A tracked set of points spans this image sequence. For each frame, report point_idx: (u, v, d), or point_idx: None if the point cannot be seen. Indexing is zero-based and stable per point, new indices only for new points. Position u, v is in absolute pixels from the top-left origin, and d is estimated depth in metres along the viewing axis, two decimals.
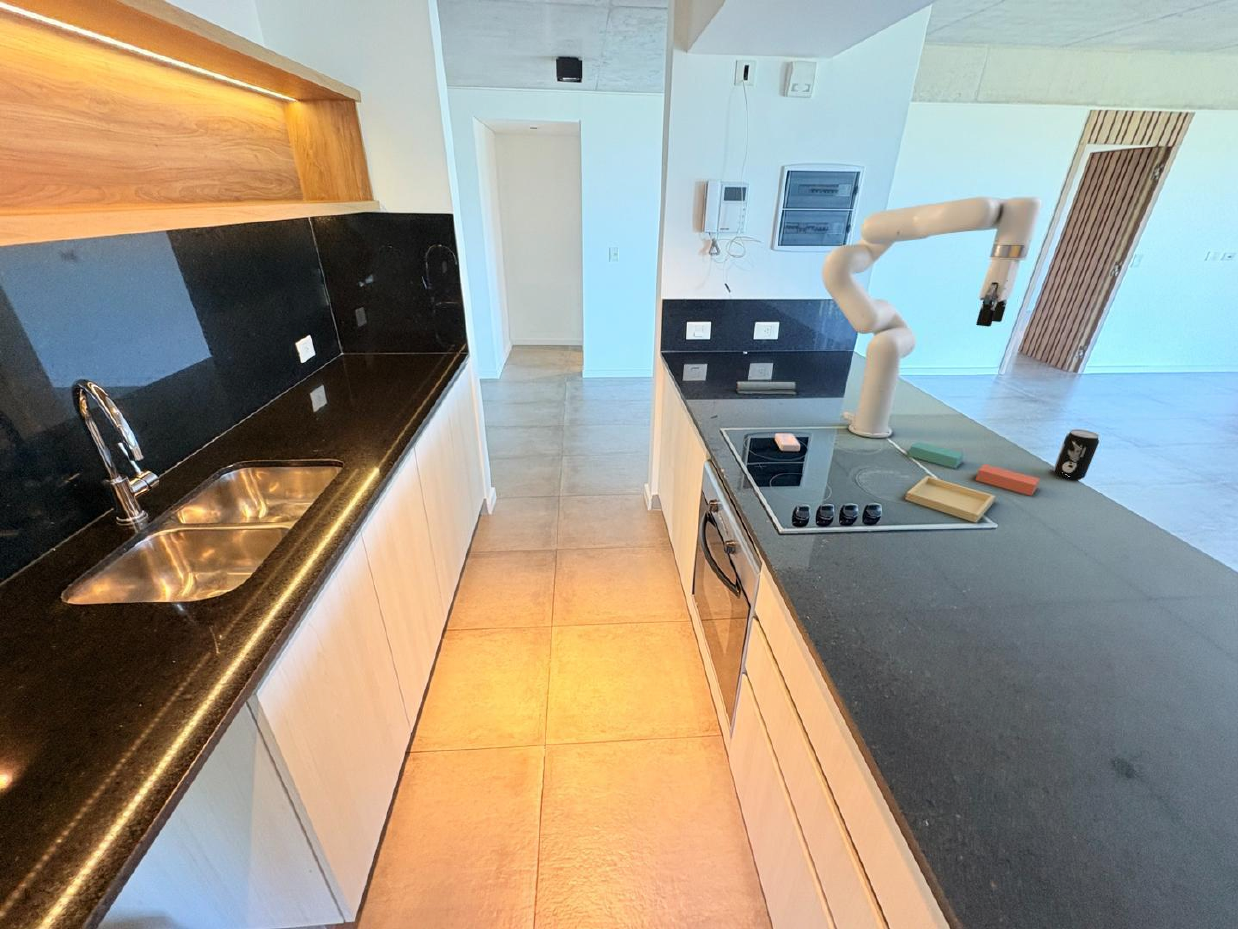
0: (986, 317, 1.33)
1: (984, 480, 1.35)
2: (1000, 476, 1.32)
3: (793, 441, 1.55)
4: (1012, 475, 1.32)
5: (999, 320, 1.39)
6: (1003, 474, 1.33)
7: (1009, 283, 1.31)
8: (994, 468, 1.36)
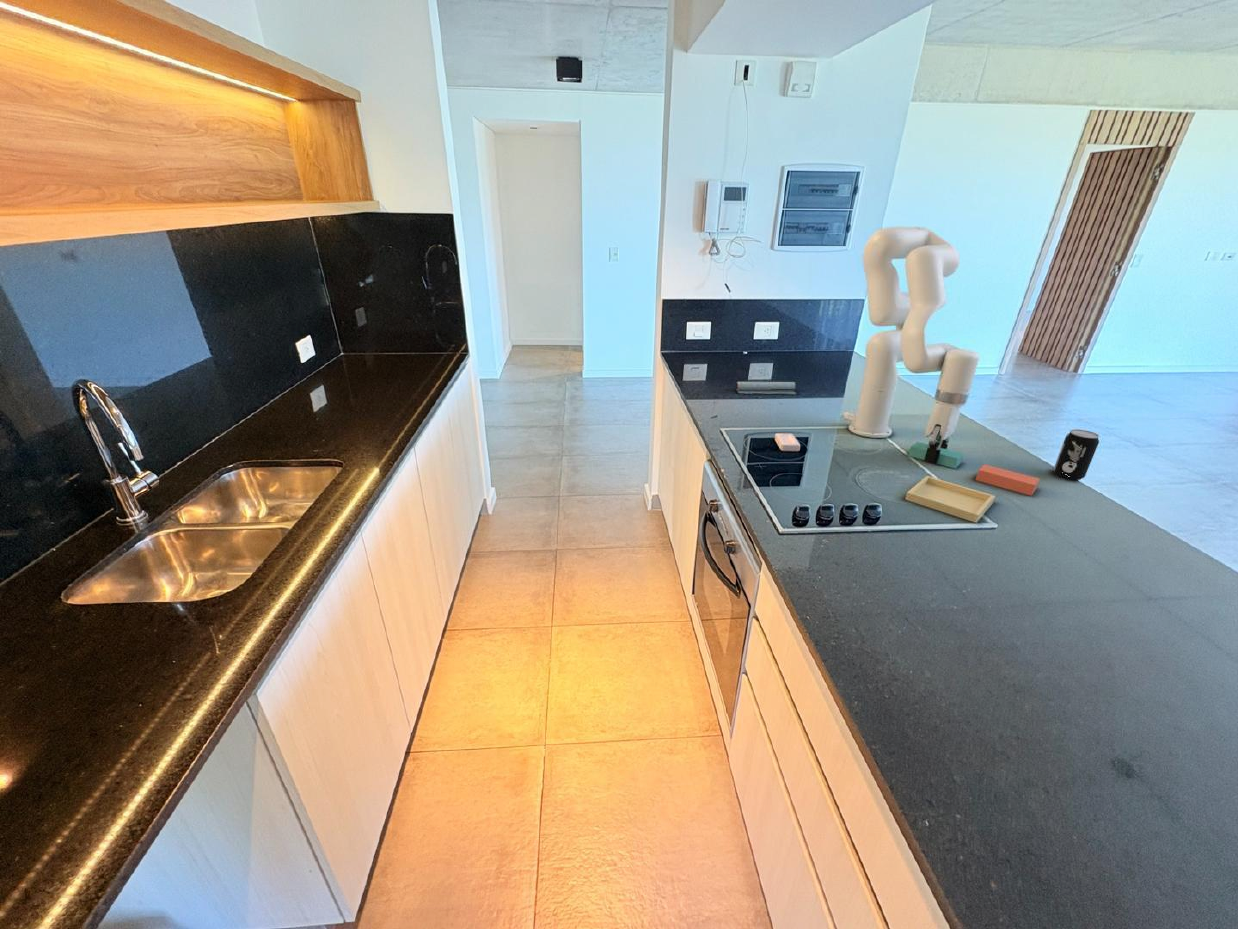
0: (932, 455, 1.45)
1: (984, 480, 1.35)
2: (1000, 476, 1.32)
3: (793, 441, 1.55)
4: (1012, 475, 1.32)
5: None
6: (1003, 474, 1.33)
7: (951, 424, 1.41)
8: (994, 468, 1.36)
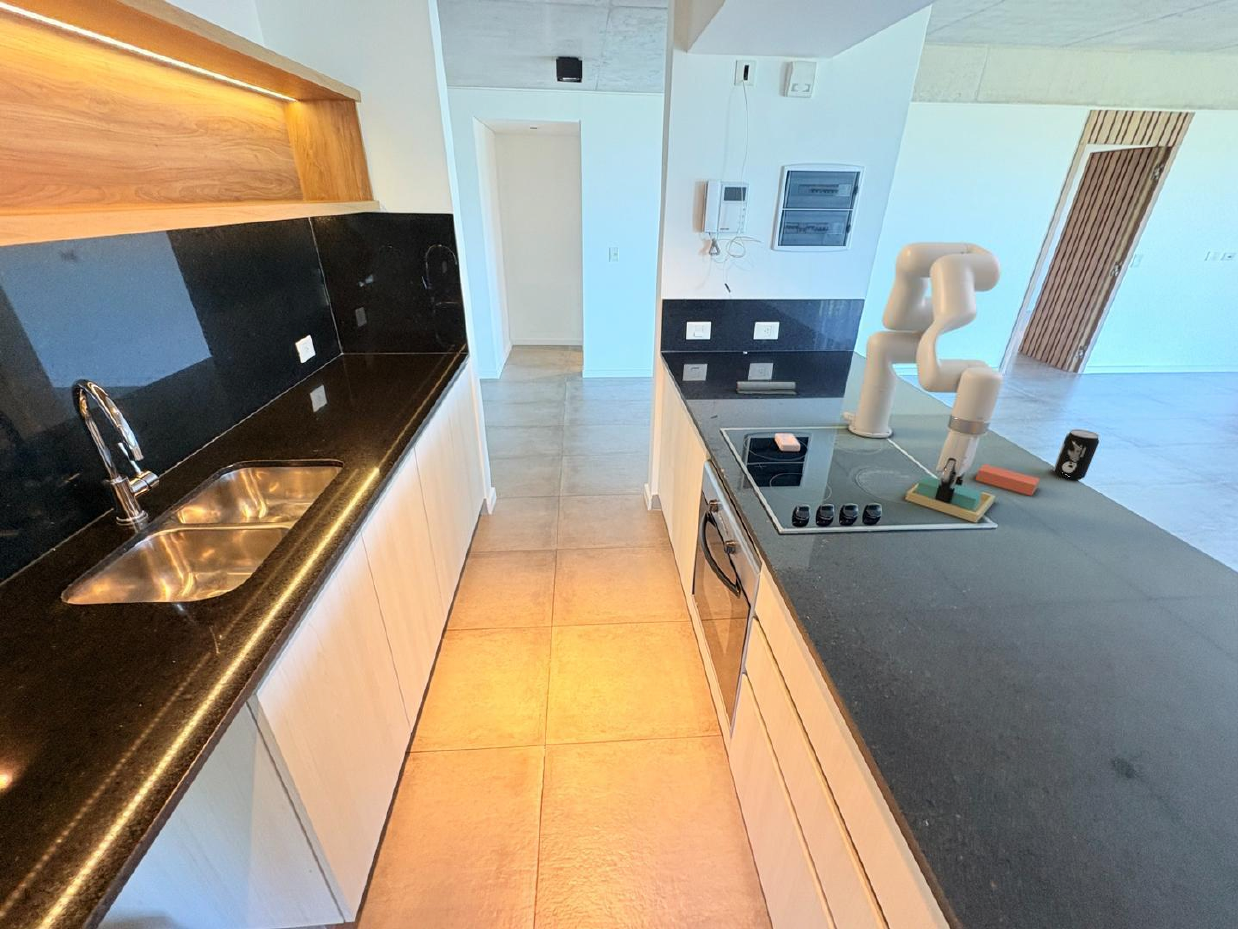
0: (945, 494, 1.20)
1: (984, 480, 1.35)
2: (1000, 476, 1.32)
3: (793, 441, 1.55)
4: (1012, 475, 1.32)
5: None
6: (1003, 474, 1.33)
7: (968, 458, 1.16)
8: (994, 468, 1.36)
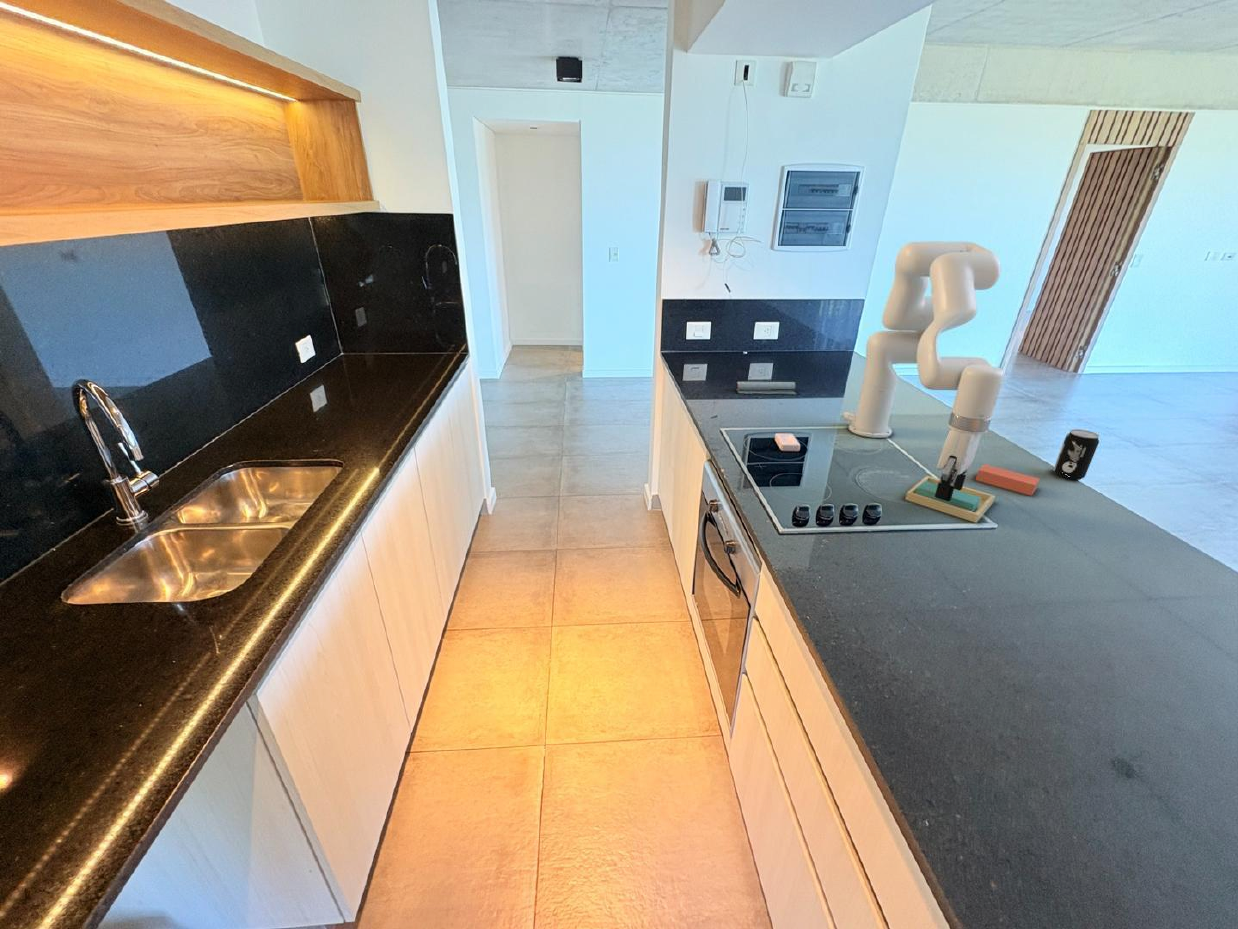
0: (945, 492, 1.19)
1: (984, 480, 1.35)
2: (1000, 476, 1.32)
3: (793, 441, 1.55)
4: (1012, 475, 1.32)
5: (959, 489, 1.25)
6: (1003, 474, 1.33)
7: (969, 456, 1.16)
8: (994, 468, 1.36)
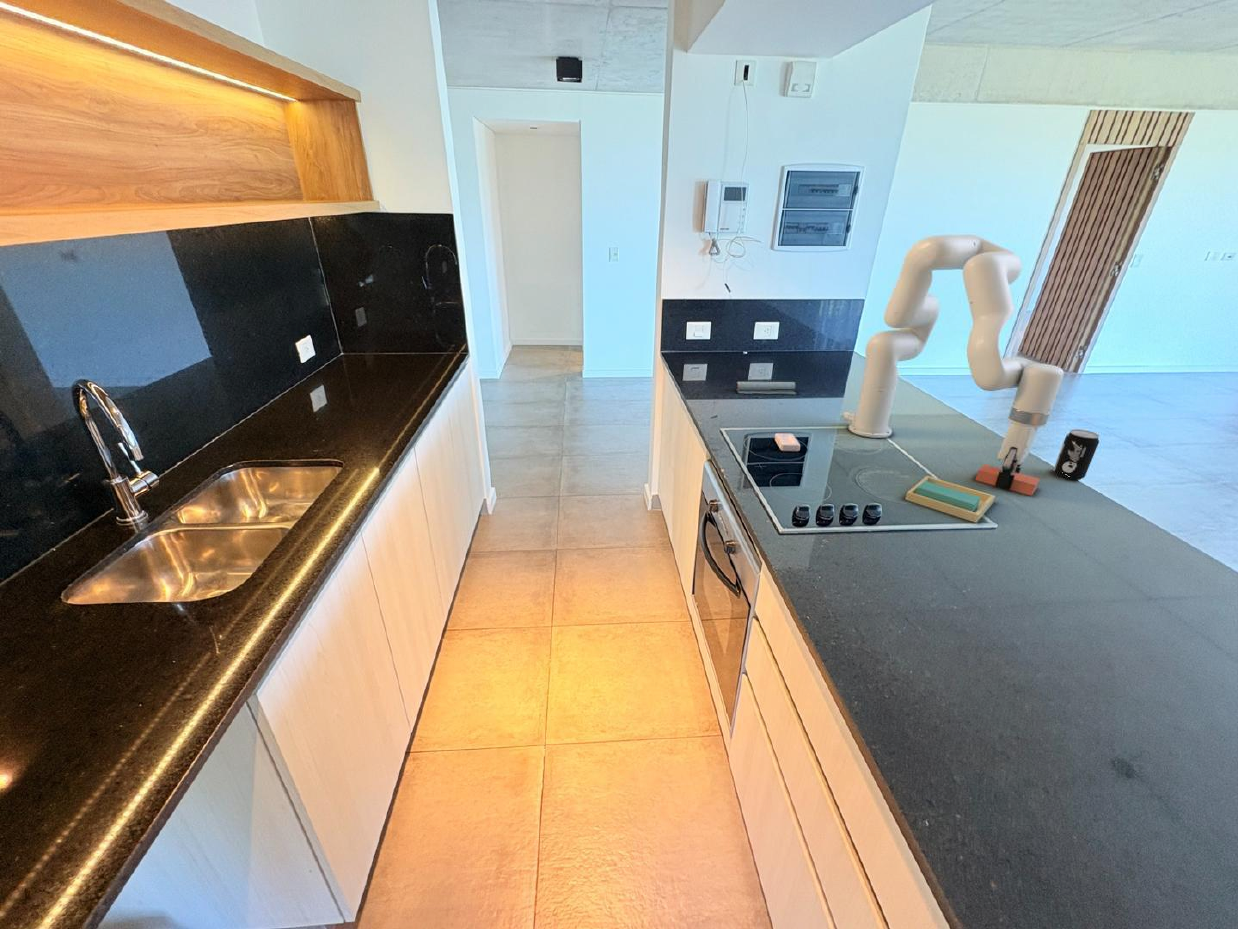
0: (1005, 481, 1.31)
1: (984, 480, 1.35)
2: None
3: (793, 441, 1.55)
4: None
5: None
6: None
7: (1029, 447, 1.27)
8: (994, 468, 1.36)
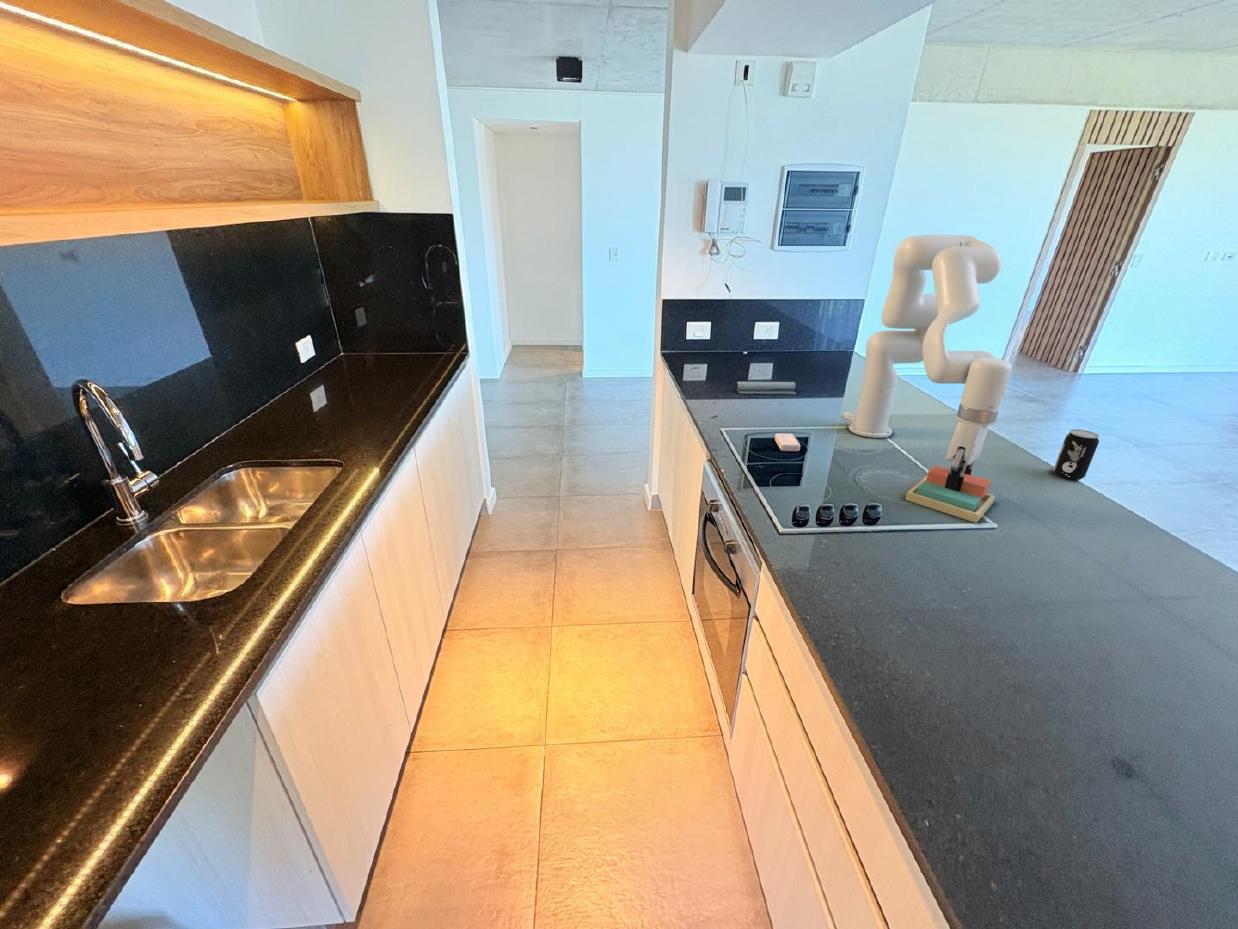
0: (955, 483, 1.23)
1: (934, 482, 1.27)
2: None
3: (793, 441, 1.55)
4: None
5: None
6: None
7: (977, 447, 1.19)
8: (945, 469, 1.28)
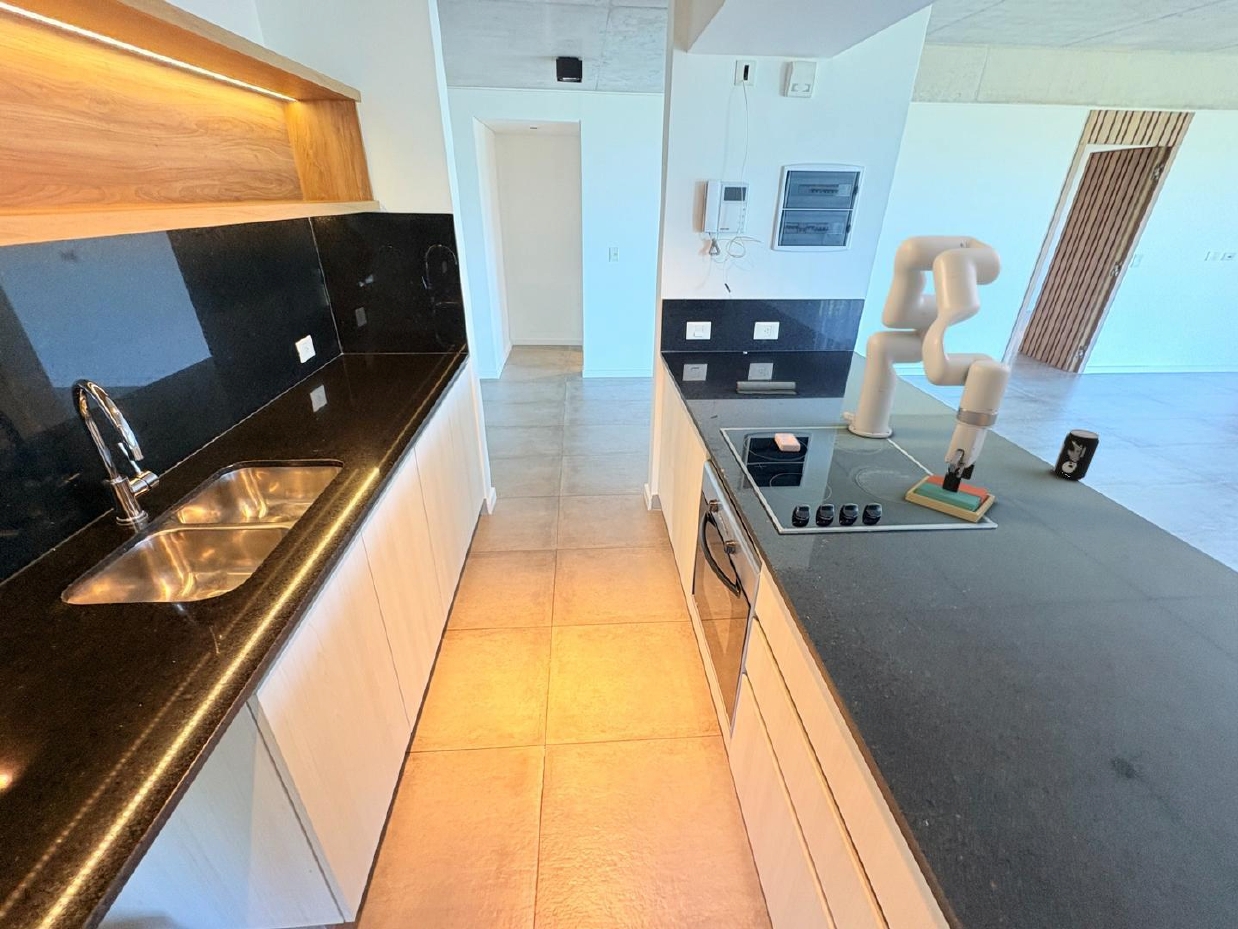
0: (952, 483, 1.21)
1: None
2: None
3: (793, 441, 1.55)
4: (960, 486, 1.26)
5: (968, 478, 1.28)
6: None
7: (976, 449, 1.19)
8: (942, 479, 1.29)
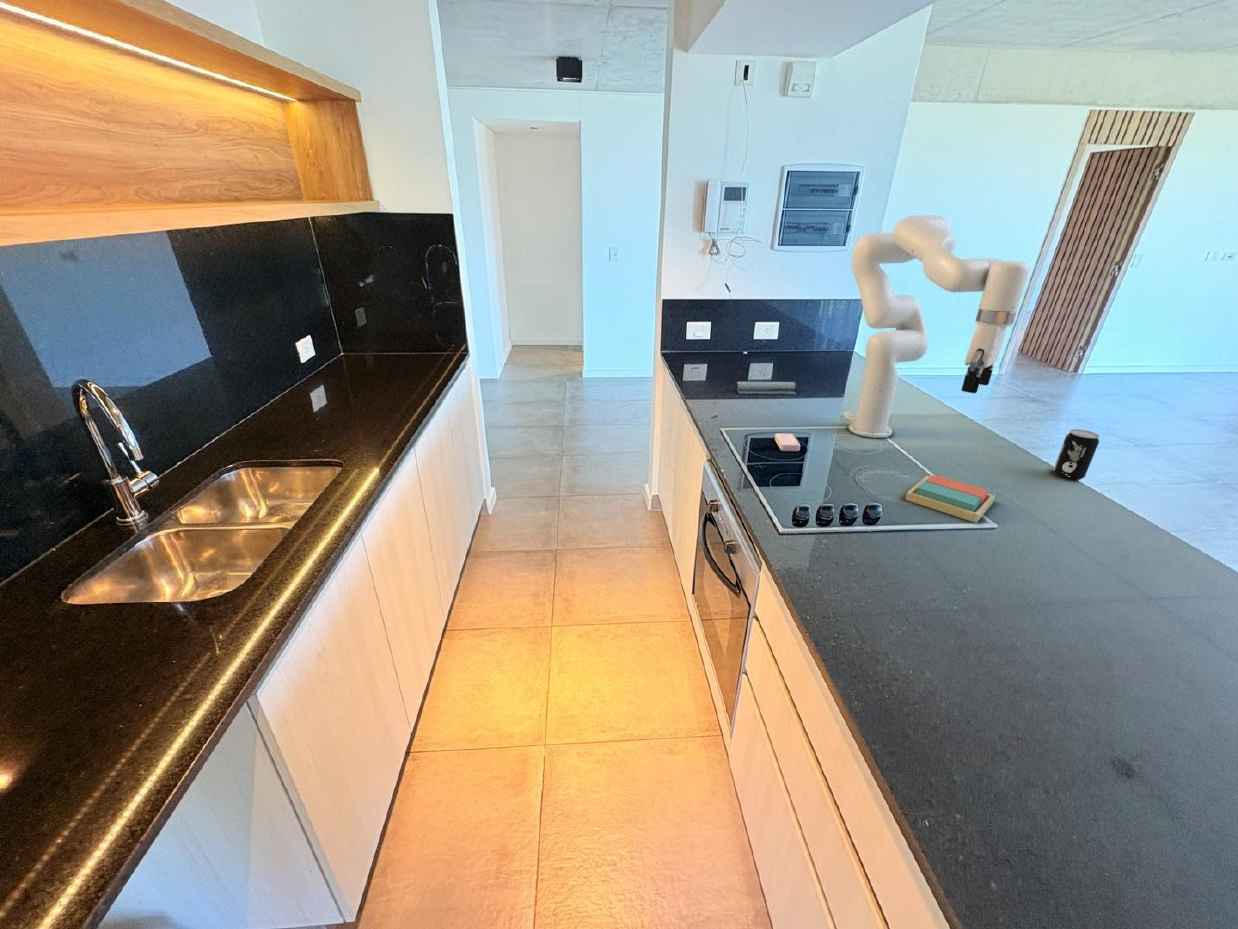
0: (971, 384, 1.26)
1: None
2: None
3: (793, 441, 1.55)
4: (960, 486, 1.26)
5: (986, 384, 1.33)
6: (950, 485, 1.26)
7: (995, 349, 1.24)
8: (942, 479, 1.29)
